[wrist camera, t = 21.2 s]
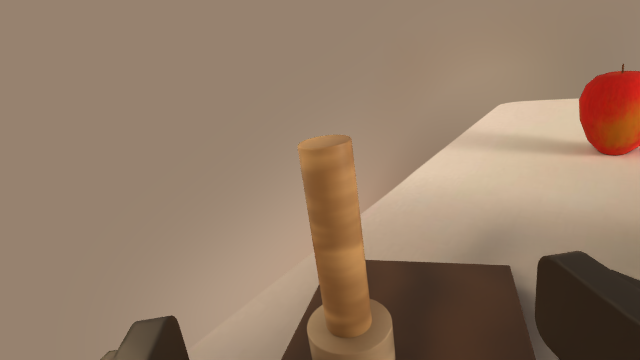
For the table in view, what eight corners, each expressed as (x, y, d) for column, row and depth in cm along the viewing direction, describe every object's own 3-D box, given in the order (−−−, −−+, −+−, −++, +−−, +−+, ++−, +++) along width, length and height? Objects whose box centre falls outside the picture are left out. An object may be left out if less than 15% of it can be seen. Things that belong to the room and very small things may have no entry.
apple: (676, 155, 49) (692, 58, 46) (606, 165, 50) (616, 69, 46) (621, 140, 58) (630, 58, 54) (561, 148, 58) (566, 67, 55)
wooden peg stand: (298, 377, 21) (254, 155, 17) (333, 322, 25) (304, 130, 21) (379, 403, 19) (351, 155, 15) (405, 338, 23) (388, 127, 19)
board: (269, 417, 21) (263, 392, 21) (334, 276, 34) (332, 258, 33) (556, 472, 17) (559, 442, 16) (509, 285, 29) (509, 265, 29)
